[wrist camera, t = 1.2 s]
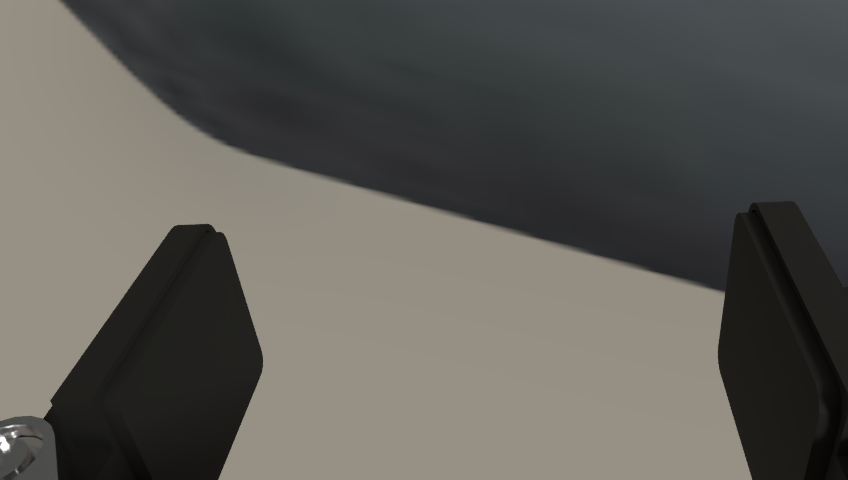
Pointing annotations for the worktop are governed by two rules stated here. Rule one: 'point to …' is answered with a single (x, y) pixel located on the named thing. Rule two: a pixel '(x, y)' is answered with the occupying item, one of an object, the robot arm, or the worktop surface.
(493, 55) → the worktop surface
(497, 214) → the worktop surface
